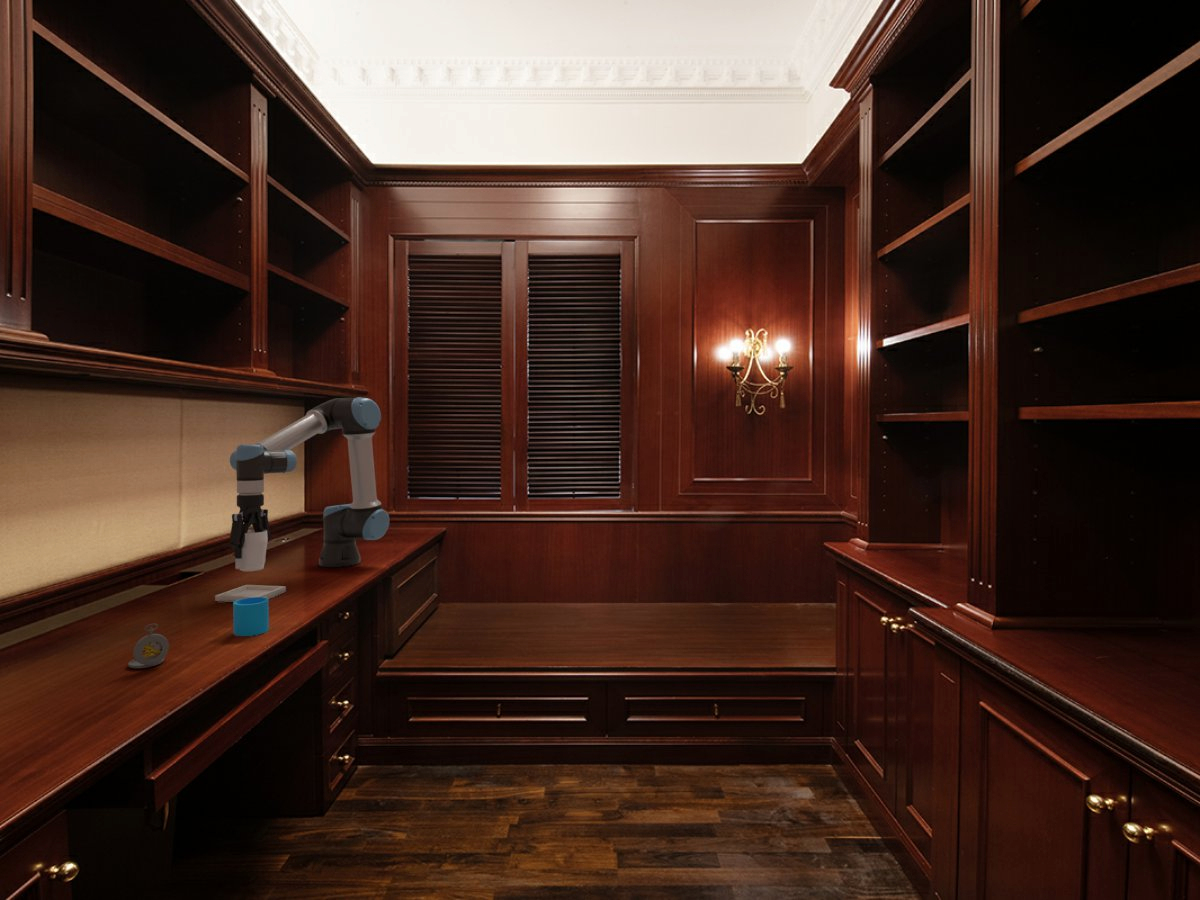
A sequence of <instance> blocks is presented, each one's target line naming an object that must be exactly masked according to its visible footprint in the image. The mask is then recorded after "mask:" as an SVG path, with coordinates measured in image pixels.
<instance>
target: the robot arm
mask: <svg viewBox="0 0 1200 900" xmlns="http://www.w3.org/2000/svg"><path fill="white" fill-rule="evenodd" d="M381 420H382V413H381V409H380V408H379V405H378V404H377V402H375V401H374V400H372V399H371V398H367V397H343V398H342V397H338V398H337V397H336V398H333V399H330V400H327V401H326V402H323V403H321V404H319V405H317V406H315V407H313V408H312V409H310V410H308V411H307V412H306V414H305V416H303V417H301V418H299V419H298V420H296V421H294V422H293V423H291V424H289V425H287V426H285V427H283V428H282V429H280V430H278V431H276V432H274V433H273V434H271V435H270V436H268V437H266V438H264V439H262V440H260V441H258V442H257V443H253V444H238V446H237V447H236V449H235V450H234V451H233V452H232V453H231V454H230V456H229V464H230V466H231V467H232V469H234V470H235V471H236V472H235V473H236V493H237V495H236V506H237V507H238V508H239V511H238V513H233V514H231V521H232V522H231V529H230V535H229V543H228V546H229V547H230V548H232V549H233V548H234V560H235V562H234V563H235V570H240V569H245V548H243V545H244V542H245V533H247V532H248V529H250V527H253V528H252V529H254V531H255V533H258V532H263V529H266V530H267V537H268V541H267V543H268V542H270V539H271V537H272V536H271V530H270V524H269V523H270V522H269V517H268V515H269V510H268V509H265V508H263V509H262V508H261V507H263V506H264V505H265V495H264V492H265V484H264V483H265V478H264V477H265V475H266V474H282V473H283V474H286V473H290V472H291V473H292V472H293V471H294V470H295V469H296V467H297V465H298V457H297V455H296V453H295V452H294V451H292V449H293V448H295V447H297V446H298V445H300V444H302V443H303V442H305V441H308V439H311V438H312V437H314V436H315V435H317V434H320V435H321V434H324V433H326V432H329V431H330V430H338V429H339V430H340V429H342V436H344V437H345V438H346V439H347V446H348V447H347V448H348V449H347V450H348V460H349V470H350V479H351V480H350V481H351V491H352V502H351V503H348V504H346V503H345V504H339V505H330V506H326V507H325V508H324V510H323V516H322V523H323V525H322V526H323V527H322V528H323V547H322V549H321V552H320V555H319V558H318V566H320V567H323V568H343V567H342V566H345V567H350V565H352V566H355V564H356V565H359V564H360V563H361V555H360V552H359V549H358V546H357V543H356V540H357V539H358V540H365V541H376V540H379V539H381V538H382V537H384V536H385V534H386V532H387V531H388V529H389V527H390V515H389V513H387V511H386V510H384V509H383V508H382V507H383V506H382V502H381V501H380V500H379V499H378V498H377V497H378V496H377V484H376V474H375V471H376V470H375V461H374V460H375V459H374V451H373V450H374V449H373V447H374V446H373V436H374V435H375V434H376V429H377V428H378V427H379V426H380V422H381ZM239 543H240V544H239ZM266 555H267V554H266ZM266 555H265V562H264V564H265V563H266V562H267V560H266Z"/></svg>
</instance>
